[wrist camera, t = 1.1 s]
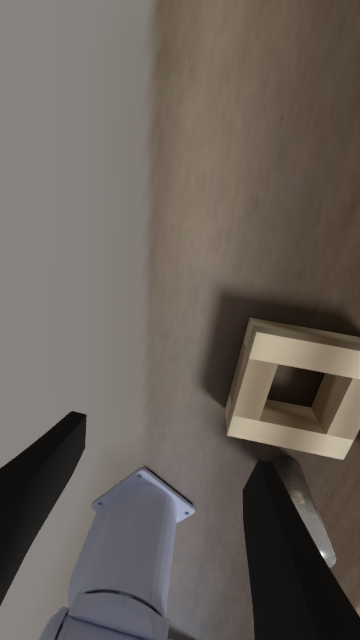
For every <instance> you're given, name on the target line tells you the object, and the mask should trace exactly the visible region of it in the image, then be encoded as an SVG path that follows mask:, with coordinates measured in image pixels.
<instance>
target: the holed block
mask: <svg viewBox="0 0 360 640" xmlns="http://www.w3.org/2000/svg"><path fill="white" fill-rule="evenodd" d="M278 364H281V365H286V366H292V367H297V368H302V369H307V370H313V371H318V372H323V373H325V375H324V377H323V380H322V382H321V385H320V387H319V389H318V392H317V394H316V396H315V399H314V401H313V404H312V406H311V408H310V407H305V406H300V405H295V404H290V403H285V402H280V401H275V400H270V399H267V396H268V393H269V390H270V387H271V384H272V381H273V378H274V375H275V372H276V369H277V366H278ZM225 416H226V428H227V436H232V437H236V438H241V439H246V440H251V441H256V442H260V443H265V444H270V445H275V446H280V447H284V448H289V449H294V450H299V451H304V452H308V453H313V454H318V455H323V456H328V457H332V458H337V459H342V460H344V458H345V456H346V454H347V452H348V450H349V448H350V447H351V445H352V443H353V441H354V439H355V437H356V435H357V433H358V431H359V430H360V337H356V336H351V335H345V334H340V333H334V332H329V331H323V330H317V329H312V328H306V327H301V326H295V325H290V324H284V323H278V322H273V321H267V320H262V319H256V318H251V317H250V318H249V322H248V326H247V329H246V333H245V337H244V341H243V344H242V348H241V352H240V355H239V359H238V363H237V367H236V370H235V374H234V378H233V382H232V385H231V389H230V393H229V397H228V400H227V404H226V408H225Z"/></svg>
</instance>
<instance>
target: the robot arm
mask: <svg viewBox="0 0 360 640" xmlns="http://www.w3.org/2000/svg"><path fill="white" fill-rule="evenodd" d="M85 435H86V414H82V413H78V412H74V411H72V412H70V413H69V414H67V415H66V416H65V417H64V418H63V419H62V420H61V421H59V422H58V423H57V424H56V425H55V426H54V427H52V428H51V429H50V430H49V431H48V432H46V433H45V434H44V435H43V436H42V437H40V438H39V439H38V440H37V441H35V442H34V443H33V444H32V445H30V446H29V447H28V448H27V449H25V450H24V451H23V452H22V453H20V454H19V455H18V456H16V457H15V458H14V459H12V460H11V461H10V462H8V463H7V464H6V465H5V466H3V467H2V468H0V605H1V603H2V601H3V599H4V597H5V595H6V593H7V591H8V589H9V587H10V585H11V583H12V581H13V579H14V577H15V575H16V573H17V571H18V569H19V567H20V565H21V563H22V561H23V559H24V557H25V555H26V553H27V552H28V550H29V548H30V546H31V544H32V542H33V541H34V539H35V537H36V535H37V534H38V532H39V530H40V529H41V527H42V525H43V524H44V522H45V520H46V518H47V516H48V515H49V513H50V512H51V510H52V508H53V507H54V505H55V503H56V501H57V500H58V498H59V496H60V495H61V493H62V491H63V490H64V488H65V486H66V485H67V483H68V481H69V479H70V478H71V476H72V474H73V472H74V470H75V468H76V466H77V464H78V462H79V460H80V457H81V455H82V453H83V451H84V449H85ZM91 507H92V508H93V509H94V510H95V511H97V513H96V515H95V518H94V520H93V523H92V525H91V528H90V530H89V532H88V535H87V537H86V540H85V542H84V545H83V547H82V550H81V552H80V555H79V557H78V559H77V562H76V565H75V567H74V569H73V572H72V575H71V578H70V583H69V590H68V605H69V608H66V607H62V608H61V609H60V610H59V611H58V612H57V613H56V614H55V615H53V616H52V617H51V618H50V620H49V621H48V623H47V625H46V627H45V628H44V630H43V632H42V634H41V636H40V638H39V640H173V639H170V638H168V630H169V619H167V618H165V616H166V607H167V599H168V590H169V581H170V573H171V564H172V556H173V547H174V539H175V530H176V523H178V522H180V521H181V520H183V519H185V518H187V517H188V516H190V515H192V514H193V513H194V512H195V507H194V506H193V505H191V504H190V503H189V502H188V501H186V500H185V499H184V498H183V497H181V496H180V495H179V494H178V493H176V492H175V491H174V490H172V489H171V488H170V487H169V486H167V485H166V484H165V483H164V482H162V481H161V480H160V479H159V478H157V477H156V476H155V475H153V474H152V473H151V472H150V471H148V470H147V469H146V468H144V467H141V468H139V469H138V470H136V471H135V472H134V473H132V474H131V475H129V476H128V477H127V478H125V479H124V480H122V481H121V482H120V483H118V484H117V485H116V486H114V487H113V488H112V489H110V490H109V491H107V492H106V493H105V494H103V495H102V496H101V497H99V498H98V499H96V500H95V501H94V502H93V503H92V505H91ZM243 522H244V532H245V541H246V550H247V559H248V567H249V576H250V585H251V594H252V603H253V615H254V633H255V640H360V617H359V615H358V614H357V612H356V611H355V609H354V607H353V606H352V604H351V603H350V601H349V600H348V598H347V596H346V595H345V593H344V592H343V590H342V588H341V587H340V585H339V583H338V582H337V580H336V578H335V577H334V575H333V573H332V572H331V570H330V568H329V567H328V565H327V563H326V561H325V560H324V558H323V556H322V555H321V553H320V551H319V549H318V547H317V546H316V544H315V542H314V540H313V538H312V537H311V535H310V533H309V531H308V529H307V527H306V525H305V524H304V522H303V520H302V518H301V516H300V514H299V512H298V510H297V509H296V507H295V505H294V503H293V501H292V499H291V497H290V495H289V493H288V491H287V489H286V487H285V485H284V483H283V481H282V479H281V477H280V475H279V473H278V471H277V469H276V467H275V465H274V464H273V463H269V462H265V461H261V460H258V462H257V464H256V466H255V468H254V470H253V472H252V474H251V475H250V477H249V479H248V481H247V483H246V485H245V487H244V489H243Z"/></svg>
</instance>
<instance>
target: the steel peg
mask: <svg viewBox="0 0 360 640" xmlns="http://www.w3.org/2000/svg"><path fill="white" fill-rule="evenodd" d="M271 463H273V464H274V465H275V467H276V469H277V471H278V473H279V475H280V477H281V479H282V481H283V483H284V485H285V487H286V489H287V491H288V493H289V495H290V497H291V499H292V501H293V503H294V505H295V507H296V509H297V510H298V512H299V514H300V516H301V518H302V520H303V522H304V524H305V525H306V527H307V529H308V531H309V533H310V535H311V537H312V538H313V540H314V542H315V544H316V546H317V547H318V549H319V551H320V553H321V555H322V556H323V558H324V560H325V561H326V563H327V565H328V567H329V568H331V567H332V566H333V565H334V564H335V562H336V556H335V553H334V551H333V548H332V546H331V543H330V540H329V538H328V535H327V533H326V530H325V528H324V525H323V522H322V520H321V517H320V515H319V512H318V510H317V507H316V505H315V502H314V499H313V497H312V494H311V492H310V489H309V487H308V484H307V482H306V479H305V476H304V474H303V471H302V469H301V466H300V464H299V462H298V461H296V460H295V459H293V458H290V457H279V458H276V459H274V460H273V461H271Z"/></svg>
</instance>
